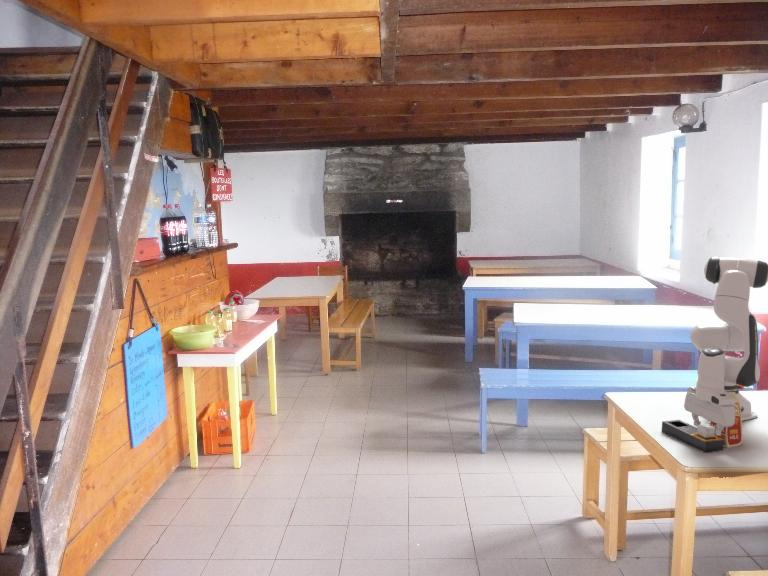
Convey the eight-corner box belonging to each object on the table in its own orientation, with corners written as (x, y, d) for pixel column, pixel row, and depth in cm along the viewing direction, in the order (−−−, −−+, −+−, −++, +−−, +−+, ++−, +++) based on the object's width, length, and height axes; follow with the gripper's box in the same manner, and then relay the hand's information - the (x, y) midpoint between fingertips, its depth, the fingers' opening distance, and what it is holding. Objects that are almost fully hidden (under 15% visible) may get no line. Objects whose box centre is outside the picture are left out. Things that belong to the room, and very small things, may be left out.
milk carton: (727, 447, 219) (731, 394, 217) (705, 439, 228) (708, 388, 225) (744, 444, 223) (748, 392, 220) (721, 435, 231) (725, 385, 229)
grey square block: (705, 444, 222) (706, 423, 221) (713, 448, 218) (715, 427, 217) (696, 445, 221) (697, 424, 220) (704, 449, 217) (706, 428, 216)
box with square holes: (678, 429, 238) (679, 419, 237) (723, 450, 217) (724, 439, 216) (661, 431, 236) (662, 420, 235) (705, 452, 214) (705, 441, 214)
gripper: (681, 386, 226) (678, 421, 228) (725, 402, 206) (722, 441, 208) (695, 384, 228) (692, 419, 229) (739, 401, 208) (736, 439, 210)
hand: (706, 430), depth 219 cm, fingers open, 8 cm apart
